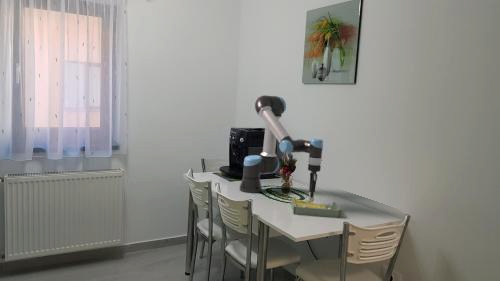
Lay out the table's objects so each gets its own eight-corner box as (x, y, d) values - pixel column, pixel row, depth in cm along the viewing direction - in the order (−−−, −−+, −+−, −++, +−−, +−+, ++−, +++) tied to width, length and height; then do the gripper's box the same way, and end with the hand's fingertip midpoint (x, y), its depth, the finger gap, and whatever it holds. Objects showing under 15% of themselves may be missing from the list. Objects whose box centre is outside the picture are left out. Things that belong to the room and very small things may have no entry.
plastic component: (326, 206, 220) (326, 203, 211) (324, 218, 218) (323, 215, 209) (293, 198, 225) (292, 195, 216) (290, 210, 223) (289, 207, 214)
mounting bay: (290, 205, 224) (291, 198, 224) (334, 208, 224) (334, 201, 223) (293, 214, 208) (294, 206, 207) (340, 217, 207) (341, 209, 207)
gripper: (322, 166, 220) (318, 205, 223) (319, 162, 233) (315, 199, 236) (309, 165, 221) (305, 204, 223) (307, 161, 234) (303, 198, 236)
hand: (310, 201), depth 230 cm, fingers closed
